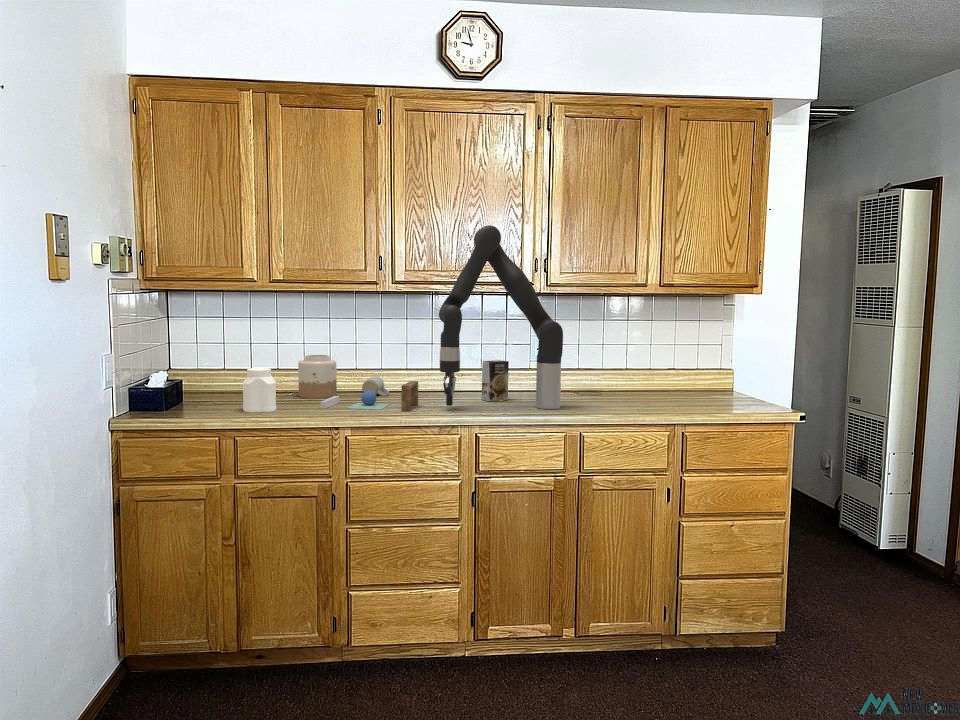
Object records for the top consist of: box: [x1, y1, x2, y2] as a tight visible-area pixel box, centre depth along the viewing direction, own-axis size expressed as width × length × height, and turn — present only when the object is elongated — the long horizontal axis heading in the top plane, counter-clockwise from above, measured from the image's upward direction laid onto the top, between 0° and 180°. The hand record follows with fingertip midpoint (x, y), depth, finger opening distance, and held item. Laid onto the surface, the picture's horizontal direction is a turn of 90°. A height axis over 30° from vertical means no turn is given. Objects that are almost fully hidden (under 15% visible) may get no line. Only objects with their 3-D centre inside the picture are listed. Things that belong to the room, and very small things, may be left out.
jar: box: [242, 367, 277, 413], centre depth 269 cm, size 12×10×15 cm
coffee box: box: [481, 359, 510, 402], centre depth 300 cm, size 9×6×16 cm
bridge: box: [400, 380, 419, 412], centre depth 278 cm, size 3×15×9 cm, turn 172°
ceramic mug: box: [361, 375, 390, 397], centre depth 310 cm, size 11×8×8 cm
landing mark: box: [346, 402, 391, 411], centre depth 281 cm, size 13×13×1 cm
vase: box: [297, 354, 338, 400], centre depth 305 cm, size 15×15×17 cm
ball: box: [361, 391, 377, 405], centre depth 283 cm, size 6×6×6 cm
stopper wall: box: [319, 395, 341, 410], centre depth 282 cm, size 2×16×2 cm, turn 172°
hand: (449, 405), depth 276 cm, fingers closed
